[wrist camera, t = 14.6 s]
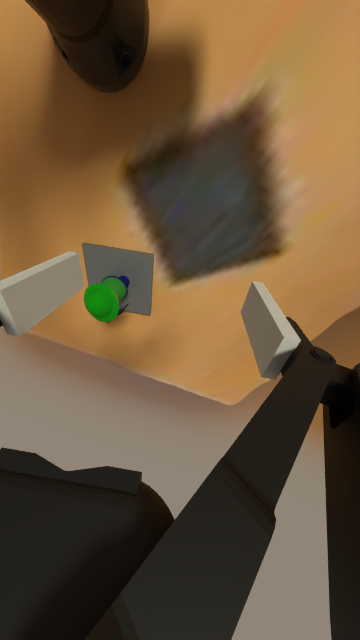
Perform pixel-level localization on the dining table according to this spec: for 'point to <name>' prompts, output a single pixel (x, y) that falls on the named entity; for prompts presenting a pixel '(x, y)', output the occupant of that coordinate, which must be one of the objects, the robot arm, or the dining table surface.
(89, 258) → the plate
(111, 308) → the toy
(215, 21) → the dining table surface
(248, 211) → the dining table surface
